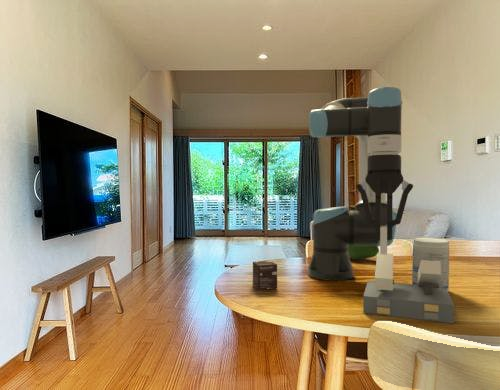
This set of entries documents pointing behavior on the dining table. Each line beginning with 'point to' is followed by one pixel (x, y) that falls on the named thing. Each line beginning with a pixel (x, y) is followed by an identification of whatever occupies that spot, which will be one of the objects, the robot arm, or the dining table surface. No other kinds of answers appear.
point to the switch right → (429, 271)
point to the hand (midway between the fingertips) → (383, 253)
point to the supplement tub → (431, 257)
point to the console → (410, 301)
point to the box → (264, 274)
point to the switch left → (384, 272)
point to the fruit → (362, 251)
